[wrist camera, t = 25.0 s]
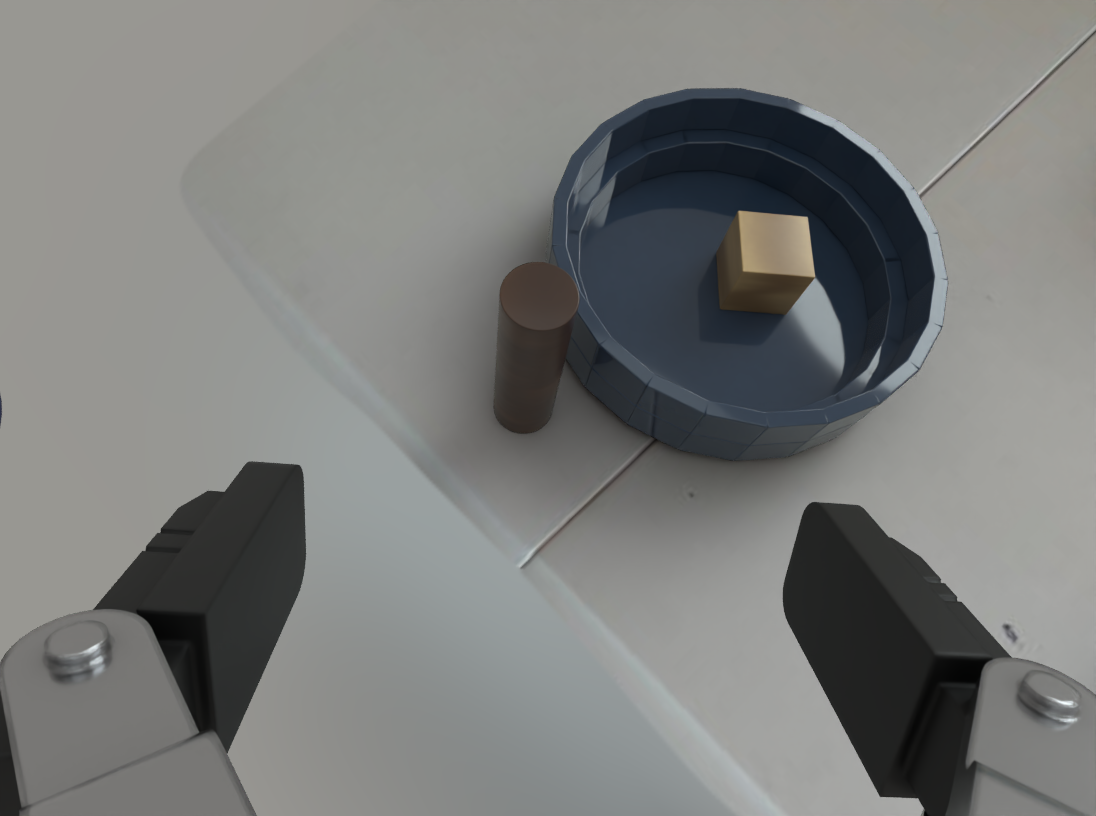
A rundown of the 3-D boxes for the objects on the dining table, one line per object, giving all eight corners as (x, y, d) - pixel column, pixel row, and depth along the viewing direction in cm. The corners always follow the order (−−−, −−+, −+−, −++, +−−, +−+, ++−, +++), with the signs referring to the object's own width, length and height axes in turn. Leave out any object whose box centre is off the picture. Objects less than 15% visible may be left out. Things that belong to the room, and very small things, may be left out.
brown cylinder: (491, 431, 34) (496, 327, 24) (495, 377, 35) (502, 258, 26) (550, 435, 34) (578, 334, 25) (553, 381, 35) (580, 265, 26)
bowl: (534, 452, 33) (544, 411, 29) (550, 141, 41) (559, 68, 36) (915, 477, 35) (982, 442, 30) (864, 171, 42) (912, 105, 37)
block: (719, 309, 37) (742, 271, 33) (715, 252, 38) (737, 209, 35) (786, 315, 37) (815, 277, 34) (780, 257, 38) (808, 216, 35)
